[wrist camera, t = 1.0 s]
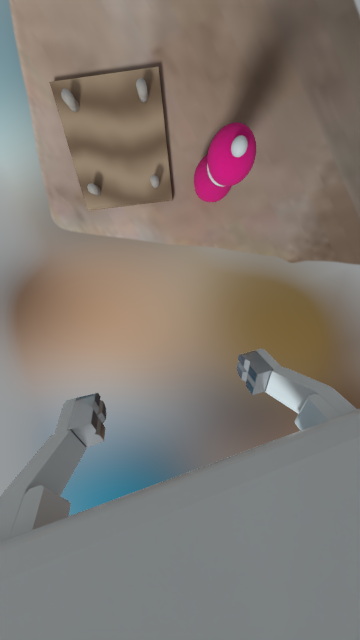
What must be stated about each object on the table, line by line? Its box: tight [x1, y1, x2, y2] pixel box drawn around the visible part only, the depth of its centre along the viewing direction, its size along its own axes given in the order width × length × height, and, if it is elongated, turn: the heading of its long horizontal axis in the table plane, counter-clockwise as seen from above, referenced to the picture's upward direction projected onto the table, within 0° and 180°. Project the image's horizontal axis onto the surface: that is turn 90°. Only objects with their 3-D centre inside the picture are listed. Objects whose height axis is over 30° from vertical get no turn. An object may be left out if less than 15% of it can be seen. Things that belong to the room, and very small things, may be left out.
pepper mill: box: [194, 122, 256, 202], centre depth 28 cm, size 7×7×20 cm
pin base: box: [50, 67, 172, 210], centre depth 33 cm, size 18×18×4 cm
